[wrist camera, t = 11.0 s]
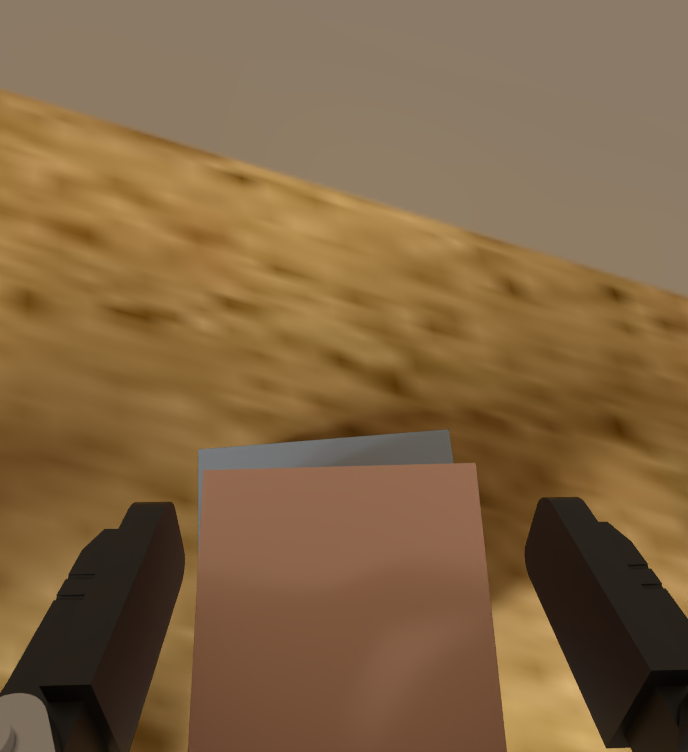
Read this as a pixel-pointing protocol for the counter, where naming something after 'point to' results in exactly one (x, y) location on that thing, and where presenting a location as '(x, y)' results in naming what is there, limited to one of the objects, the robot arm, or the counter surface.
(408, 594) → the tall block
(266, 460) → the tower top block
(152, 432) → the counter surface
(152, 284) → the counter surface
